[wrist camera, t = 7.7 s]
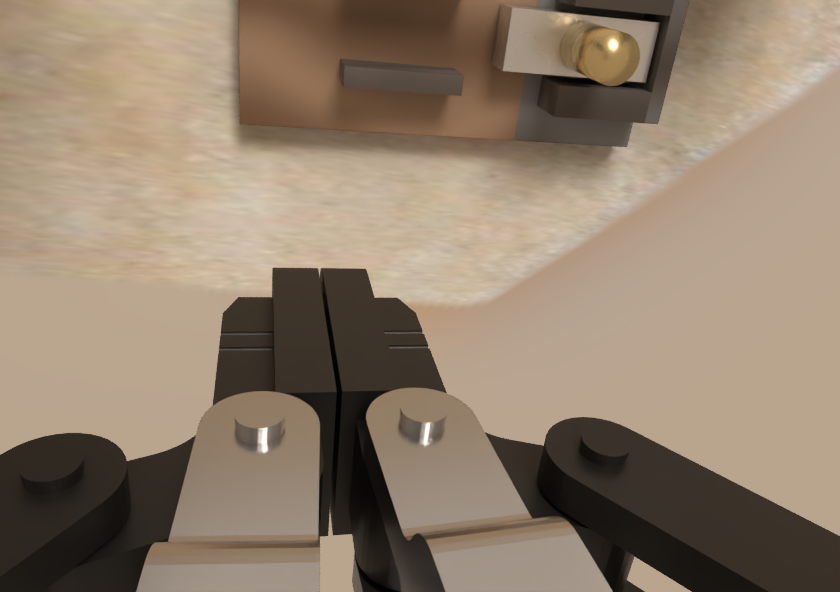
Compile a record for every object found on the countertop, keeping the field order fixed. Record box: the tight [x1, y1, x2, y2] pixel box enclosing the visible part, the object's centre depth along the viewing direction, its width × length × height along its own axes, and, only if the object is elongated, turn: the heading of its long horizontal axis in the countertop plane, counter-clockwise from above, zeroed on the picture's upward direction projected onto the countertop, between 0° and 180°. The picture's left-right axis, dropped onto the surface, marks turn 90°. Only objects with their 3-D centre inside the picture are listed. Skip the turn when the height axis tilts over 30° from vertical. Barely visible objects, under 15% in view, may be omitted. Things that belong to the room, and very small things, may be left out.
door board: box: [239, 0, 689, 147], centre depth 36 cm, size 11×22×4 cm, turn 84°
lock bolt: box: [492, 4, 660, 86], centre depth 35 cm, size 3×8×6 cm, turn 84°
